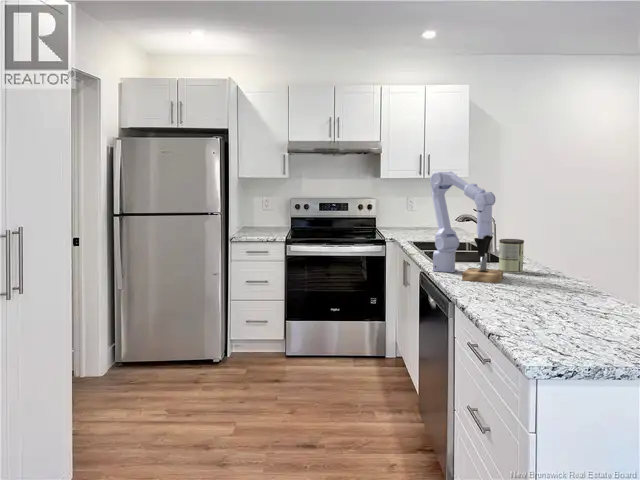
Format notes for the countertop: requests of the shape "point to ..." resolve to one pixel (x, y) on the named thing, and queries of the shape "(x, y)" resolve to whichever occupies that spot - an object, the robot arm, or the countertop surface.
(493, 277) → the tan slotted block
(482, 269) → the pin
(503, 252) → the coffee can
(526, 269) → the countertop surface
